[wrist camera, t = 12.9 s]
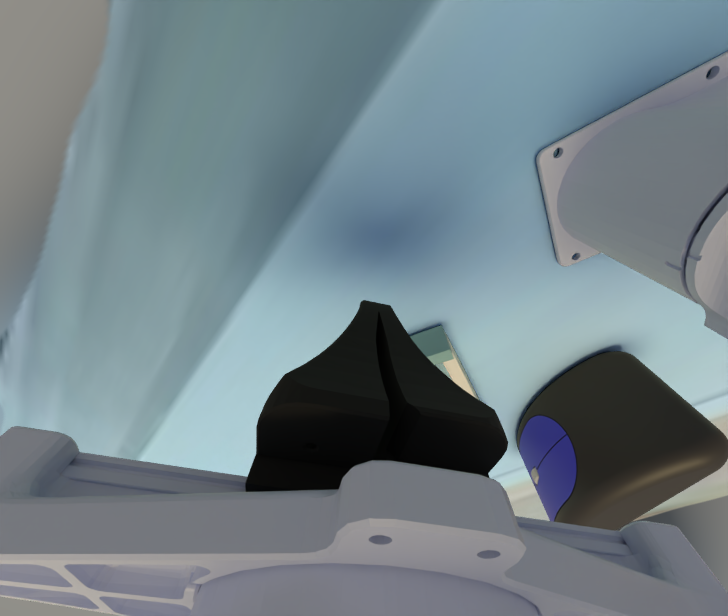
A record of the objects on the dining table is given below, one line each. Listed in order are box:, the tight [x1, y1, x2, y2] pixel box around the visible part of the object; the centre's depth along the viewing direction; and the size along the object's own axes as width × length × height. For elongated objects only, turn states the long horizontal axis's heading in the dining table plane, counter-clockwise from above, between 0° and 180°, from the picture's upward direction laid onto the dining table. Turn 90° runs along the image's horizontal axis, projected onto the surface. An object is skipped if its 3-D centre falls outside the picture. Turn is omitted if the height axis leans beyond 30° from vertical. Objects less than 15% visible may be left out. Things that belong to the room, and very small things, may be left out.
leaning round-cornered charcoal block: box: [517, 351, 728, 531], centre depth 23 cm, size 16×5×9 cm, turn 169°
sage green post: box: [410, 325, 454, 365], centre depth 23 cm, size 10×1×3 cm, turn 117°
